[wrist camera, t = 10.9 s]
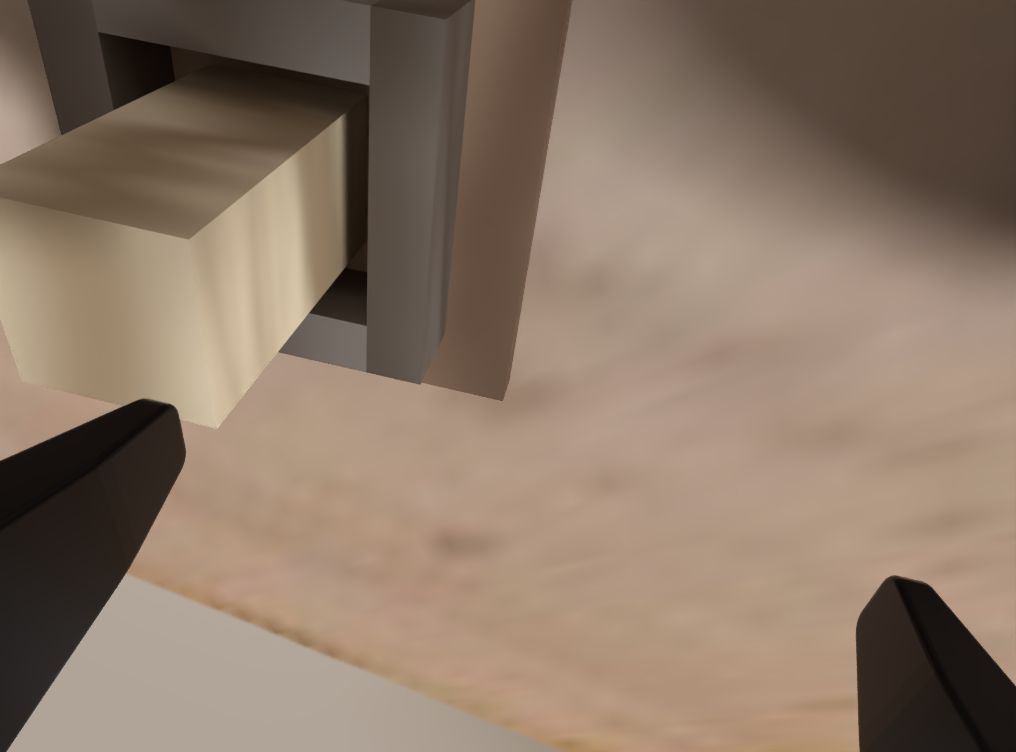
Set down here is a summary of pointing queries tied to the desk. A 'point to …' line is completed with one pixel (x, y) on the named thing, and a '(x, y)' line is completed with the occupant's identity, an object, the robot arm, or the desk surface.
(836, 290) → the desk surface
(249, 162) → the maple peg
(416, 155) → the socket holder
